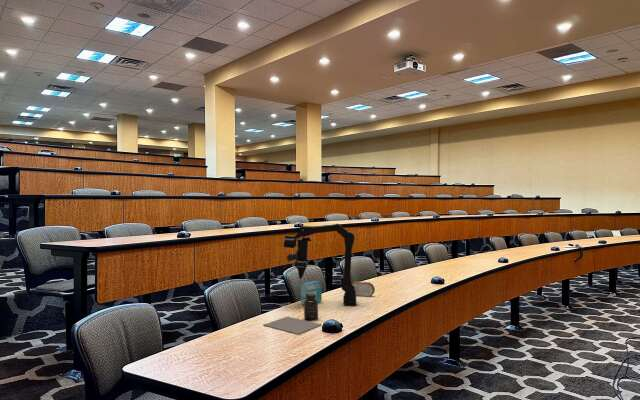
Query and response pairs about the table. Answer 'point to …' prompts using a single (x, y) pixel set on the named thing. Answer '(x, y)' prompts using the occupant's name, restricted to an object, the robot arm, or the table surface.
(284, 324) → the mat
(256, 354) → the table surface
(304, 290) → the data package
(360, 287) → the beige rounded slab
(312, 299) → the supplement bottle
